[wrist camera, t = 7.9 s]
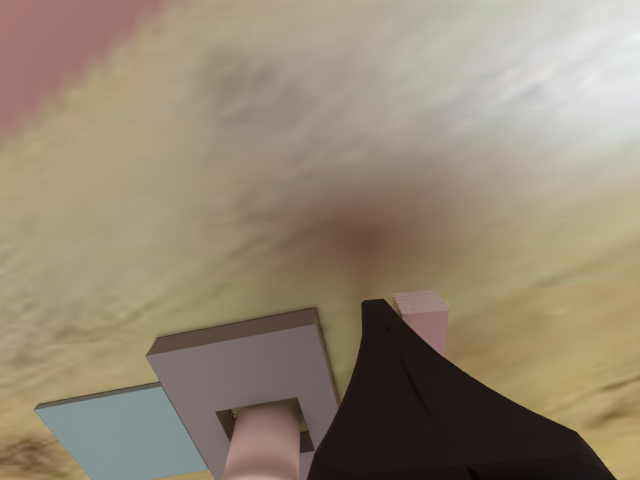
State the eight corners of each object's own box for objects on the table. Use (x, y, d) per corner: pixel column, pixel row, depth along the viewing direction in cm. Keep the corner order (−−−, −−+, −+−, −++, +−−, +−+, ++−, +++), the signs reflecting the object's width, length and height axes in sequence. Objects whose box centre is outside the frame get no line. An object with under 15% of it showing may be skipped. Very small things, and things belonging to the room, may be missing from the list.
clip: (428, 508, 17) (437, 536, 16) (383, 512, 17) (388, 541, 16) (447, 288, 11) (462, 308, 10) (380, 295, 11) (388, 315, 10)
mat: (210, 464, 25) (208, 469, 24) (101, 482, 25) (98, 488, 25) (164, 381, 21) (161, 386, 21) (37, 404, 22) (33, 409, 21)
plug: (313, 429, 24) (314, 529, 18) (245, 440, 24) (226, 542, 18) (296, 378, 22) (292, 474, 16) (222, 392, 22) (193, 490, 16)
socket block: (356, 468, 26) (359, 489, 24) (236, 488, 26) (232, 510, 25) (314, 307, 19) (315, 324, 18) (156, 338, 20) (145, 355, 18)
